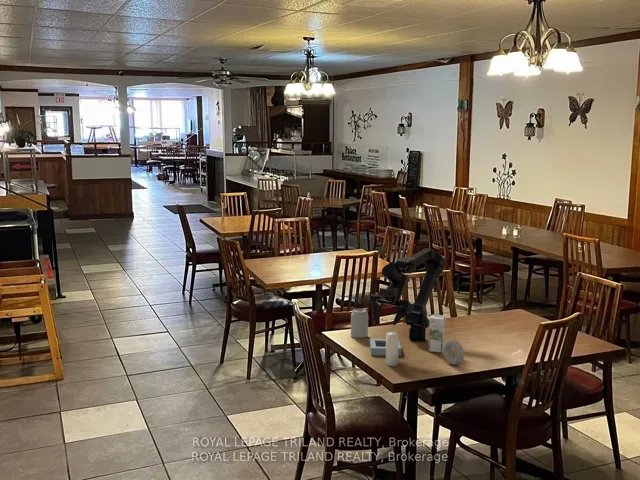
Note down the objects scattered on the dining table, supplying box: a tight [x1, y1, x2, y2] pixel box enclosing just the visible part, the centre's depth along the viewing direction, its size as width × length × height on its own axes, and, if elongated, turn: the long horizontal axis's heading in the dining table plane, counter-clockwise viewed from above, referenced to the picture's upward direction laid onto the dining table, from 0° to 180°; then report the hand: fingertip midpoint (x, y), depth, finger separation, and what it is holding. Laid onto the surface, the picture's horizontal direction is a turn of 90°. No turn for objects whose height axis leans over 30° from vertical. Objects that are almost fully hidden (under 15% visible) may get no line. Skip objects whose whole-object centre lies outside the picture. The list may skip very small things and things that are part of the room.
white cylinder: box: [385, 331, 400, 367], centre depth 244 cm, size 5×5×12 cm
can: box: [350, 308, 369, 340], centre depth 277 cm, size 8×8×12 cm
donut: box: [442, 338, 465, 366], centre depth 243 cm, size 10×4×10 cm, turn 33°
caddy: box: [369, 338, 402, 357], centre depth 259 cm, size 12×12×3 cm
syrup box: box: [428, 314, 446, 354], centre depth 259 cm, size 6×6×14 cm
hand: (383, 322), depth 252 cm, fingers open, 9 cm apart
